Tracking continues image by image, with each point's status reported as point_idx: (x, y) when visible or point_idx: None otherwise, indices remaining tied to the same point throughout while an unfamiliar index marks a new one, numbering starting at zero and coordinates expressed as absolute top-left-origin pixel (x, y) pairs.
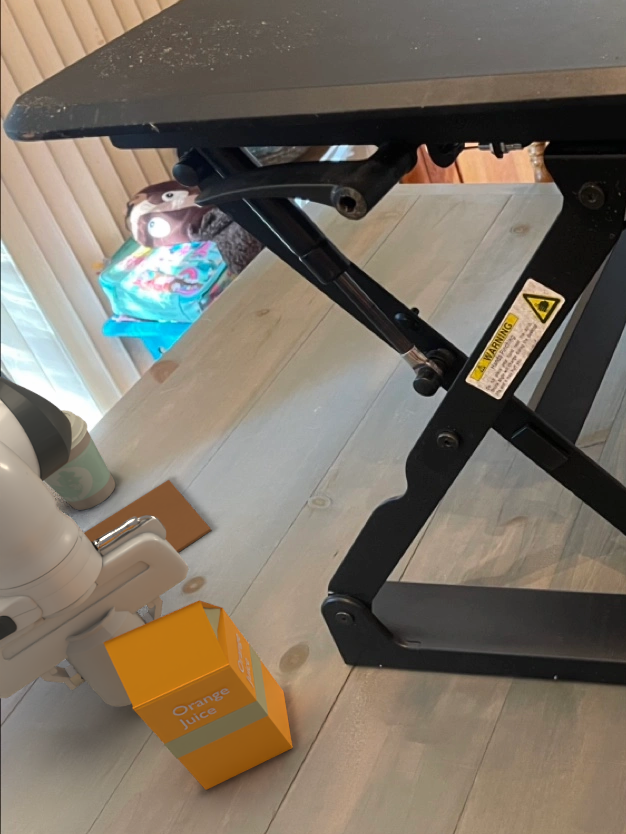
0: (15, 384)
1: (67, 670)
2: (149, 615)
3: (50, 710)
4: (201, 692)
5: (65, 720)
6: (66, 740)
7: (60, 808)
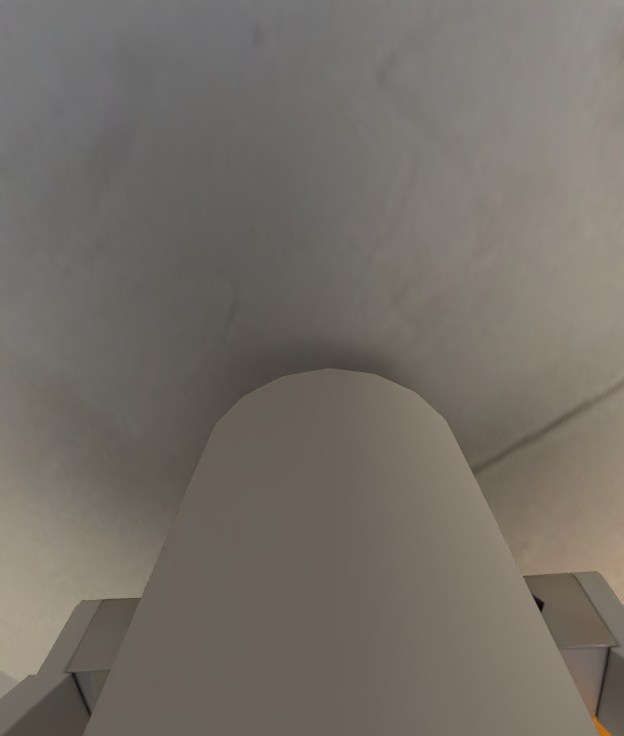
0: None
1: (87, 690)
2: (598, 669)
3: (15, 267)
4: None
5: (68, 354)
6: (70, 432)
7: (53, 607)
